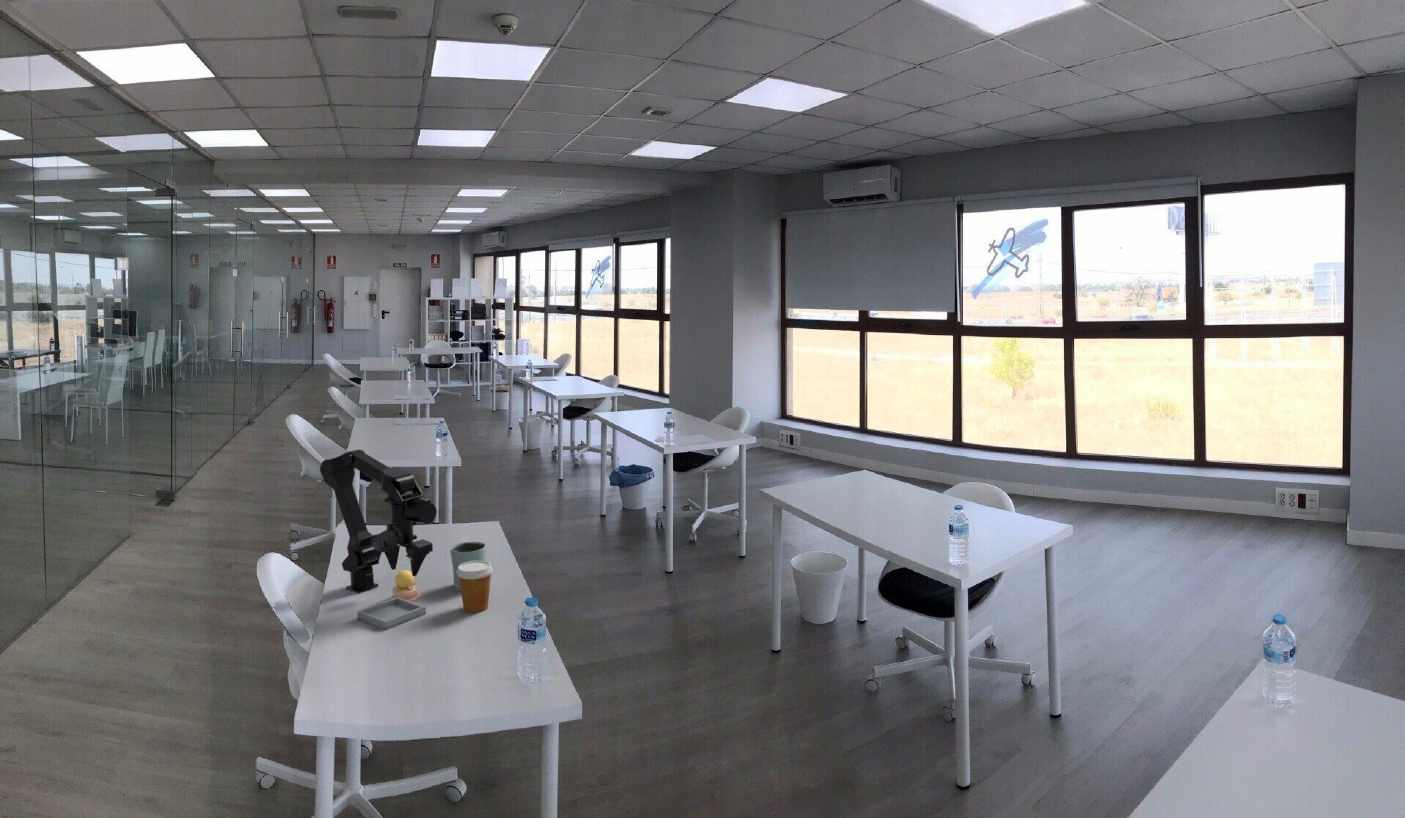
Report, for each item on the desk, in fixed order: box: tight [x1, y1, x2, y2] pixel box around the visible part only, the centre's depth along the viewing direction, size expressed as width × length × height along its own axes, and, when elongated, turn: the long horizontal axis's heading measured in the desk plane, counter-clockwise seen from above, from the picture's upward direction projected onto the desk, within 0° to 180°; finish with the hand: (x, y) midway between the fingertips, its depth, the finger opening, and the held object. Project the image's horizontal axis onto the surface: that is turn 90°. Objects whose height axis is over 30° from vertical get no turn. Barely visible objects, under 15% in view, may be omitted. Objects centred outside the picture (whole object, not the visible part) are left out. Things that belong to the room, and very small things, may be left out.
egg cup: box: [390, 581, 421, 602], centre depth 209 cm, size 8×8×4 cm
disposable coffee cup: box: [456, 560, 494, 614], centre depth 202 cm, size 10×10×12 cm
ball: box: [394, 569, 415, 588], centre depth 209 cm, size 5×5×5 cm
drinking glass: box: [449, 541, 487, 592], centre depth 218 cm, size 10×10×12 cm
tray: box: [356, 597, 427, 631], centre depth 197 cm, size 12×12×2 cm
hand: (404, 572), depth 209 cm, fingers open, 9 cm apart
